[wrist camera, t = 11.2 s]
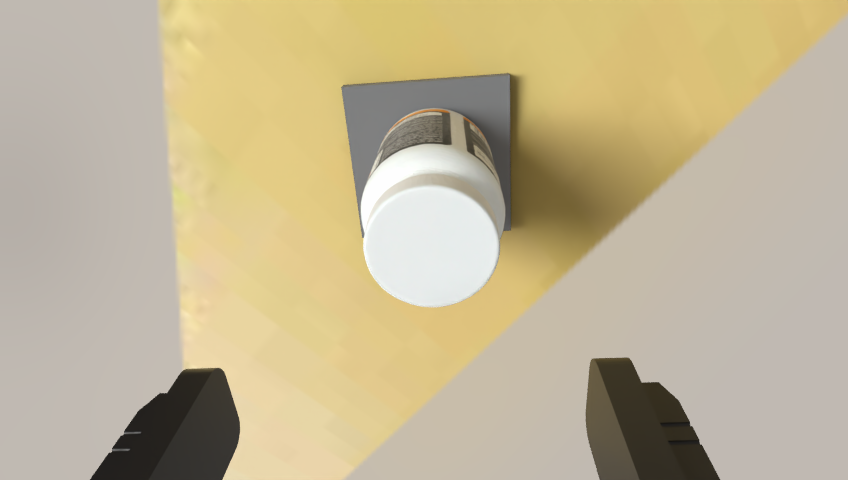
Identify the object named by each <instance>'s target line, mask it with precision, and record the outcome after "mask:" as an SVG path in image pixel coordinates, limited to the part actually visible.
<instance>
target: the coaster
mask: <svg viewBox="0 0 848 480" xmlns="http://www.w3.org/2000/svg"><path fill="white" fill-rule="evenodd" d="M341 88H342V95H343V102H344V109H345V116H346V124H347V131H348V138H349V145H350V152H351V160H352V167H353V174H354V181H355V188H356V195H357V203H358V210H359V217H360V224H361V231H362V238H364V234H365V233H364V230H363V226H362V220H361V200H362V195H363V192H364V189H365V186H366V183H367V180H368V178H369V175H370V172H371V170H372V167H373V165H374V162H375V160H376V157H377V154H378V151H379V148H380V146H381V143H382V141H383V139H384V137H385V136H386V134H387V133H388V132H389V130H390V129H391V128H392V127H393V126H394V125H395V124H396V123H397V122H398V121H399V120H400V119H402V118H403V117H405V116H407V115H408V114H410V113H413V112H415V111H418V110H422V109H430V108H441V109H447V110H451V111H454V112H456V113H459V114H461V115H463V116H464V117H466V118H467V119H469V120H470V121H471V122H473V123H474V124H475V125H476V126H477V127H478V128H479V130H480V131H481V132H482V134H483V135H484V137H485V139H486V141H487V143H488V145H489V147H490V150H491V153H492V157H493V161H494V165H495V168H496V172H497V175H498V177H499V182H500V186H501V190H502V194H503V197H504V202H505V223H504V229H503V231H509V230H511V179H510V75H509V73H507V74H493V75H479V76H465V77H451V78H437V79H423V80H409V81H395V82H381V83H367V84H353V85H343V86H342V87H341Z"/></svg>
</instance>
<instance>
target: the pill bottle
mask: <svg viewBox="0 0 848 480" xmlns="http://www.w3.org/2000/svg"><path fill="white" fill-rule="evenodd" d="M361 220H362V226H363V230H364V233H365V234H364V243H363V248H364V255H365V260H366V263H367V266H368V268H369V271H370V273H371V274H372V276H373V277H374V279H375V280H376V281H377V283H378V284H379V285H380V286H381V287H382V288H383V289H384V290H385V291H387V292H388V293H389V294H391V295H392V296H394V297H395V298H397V299H399V300H402V301H404V302H406V303H409V304H412V305H416V306H423V307H442V306H448V305H452V304H455V303H458V302H461V301H463V300H465V299H467V298H469V297H471V296H472V295H474V294H475V293H476V292H478V291H479V290H480V289H481V288H482V287H483V286H484V285H485V284H486V283H487V281H488V280H489V279H490V277H491V276H492V274H493V272H494V270H495V268H496V266H497V263H498V259H499V254H500V238H501V236H502V232H503V229H504V223H505V202H504V197H503V194H502V190H501V186H500V182H499V177H498V175H497V172H496V168H495V165H494V161H493V157H492V153H491V150H490V147H489V145H488V143H487V141H486V139H485V137H484V135H483V134H482V132H481V131H480V130H479V128H478V127H477V126H476V125H475V124H474V123H473V122H471V121H470V120H469V119H467V118H466V117H464V116H463V115H461V114H459V113H456V112H454V111H451V110H447V109H441V108H430V109H422V110H418V111H415V112H413V113H410V114H408V115H407V116H405V117H403V118H402V119H400V120H399V121H398V122H397V123H396V124H395V125H394V126H393V127H392V128H391V129H390V130H389V132H388V133H387V134H386V136H385V137H384V139H383V141H382V143H381V146H380V148H379V151H378V154H377V157H376V160H375V162H374V165H373V167H372V170H371V172H370V175H369V178H368V180H367V183H366V186H365V189H364V192H363V195H362V200H361Z"/></svg>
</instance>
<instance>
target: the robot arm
mask: <svg viewBox="0 0 848 480" xmlns="http://www.w3.org/2000/svg"><path fill="white" fill-rule="evenodd" d="M586 428H587V435H588V440H589V444H590V448H591V451H592V454H593V458H594V461H595V465H596V468H597V472H598V475H599V478H600V480H720V479H719V477H718V475H717V473H716V471H715V469H714V467H713V465H712V463H711V461H710V460H709V458H708V456H707V454H706V452H705V450H704V448H703V446H702V445H700V443H699V439H698V437H697V435H696V433H695V431H694V429H693V427H692V426H690V421H689V419H688V418H687V416H686V414H685V412H684V410H683V408H682V406H681V404H680V402H679V401H678V400H677V399H676V398H675V397H674V396H673V395H672V394H671V393H670V392H668V391H667V390H666V389H665V388H664V387H663V386H662V385H661V384H660V383H659V382H651V383H641V381H640V379H639V376H638V374H637V372H636V370H635V367H634V365H633V363H632V361H631V360H630V359H629V358H599V359H592V360H591V362H590V369H589V382H588V393H587V404H586ZM239 434H240V422H239V417H238V414H237V411H236V407H235V404H234V401H233V398H232V395H231V391H230V388H229V385H228V382H227V379H226V376H225V373H224V371H223V370H222V369H220V368H204V369H185V370H183V371H182V372H181V373H180V375H179V376H178V378H177V379H176V381H175V382H174V384H173V385H172V387H171V388H170V390H169V391H168V393H165V394H164V393H160V394H159V395H157V396H156V397H155V398H154V399H153V400H151V401H150V402H149V403H148V404H147V405H145V406H144V407H143V408H142V409H140V410H139V411H138V412H137V414H136V415H135V417H134V418H133V419H132V421H131V422H130V424H129V425H128V427H127V428H126V429H125V431H124V435H123V436H120V438H119V439H118V441H117V442H116V444H115V445H114V446H113V448H112V452H111V453H109V454H108V455H107V456H106V458H105V459H104V461H103V462H102V463H101V465H100V466H99V468H98V469H97V471H96V472H95V474H94V475H93V476H92V478H91V479H90V480H222V479H223V477H224V474H225V472H226V470H227V468H228V465H229V463H230V461H231V459H232V457H233V454H234V452H235V450H236V447H237V444H238V440H239Z"/></svg>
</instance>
